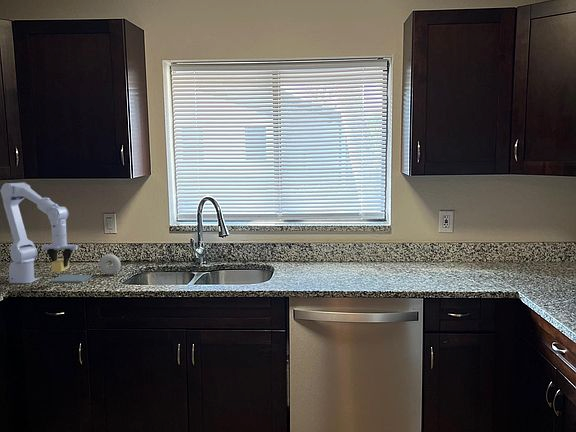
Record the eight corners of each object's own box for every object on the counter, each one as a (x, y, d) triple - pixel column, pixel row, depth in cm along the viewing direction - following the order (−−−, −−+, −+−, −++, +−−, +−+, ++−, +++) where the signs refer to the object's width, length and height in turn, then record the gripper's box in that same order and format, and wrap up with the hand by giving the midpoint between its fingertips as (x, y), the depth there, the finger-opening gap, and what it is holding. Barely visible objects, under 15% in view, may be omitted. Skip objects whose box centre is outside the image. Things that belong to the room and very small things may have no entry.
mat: (50, 282, 226) (50, 280, 226) (62, 276, 238) (62, 274, 238) (82, 282, 226) (82, 281, 226) (92, 276, 238) (92, 275, 238)
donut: (98, 275, 240) (97, 254, 239) (100, 274, 244) (100, 253, 243) (119, 275, 241) (119, 254, 240) (122, 274, 244) (121, 253, 243)
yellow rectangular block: (60, 267, 225) (59, 258, 224) (69, 267, 225) (68, 258, 224) (51, 271, 217) (51, 262, 216) (61, 271, 217) (60, 262, 216)
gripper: (37, 236, 215) (39, 268, 216) (72, 236, 215) (73, 268, 217) (45, 234, 222) (46, 264, 223) (79, 234, 222) (80, 265, 224)
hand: (60, 266), depth 220 cm, fingers closed on yellow rectangular block, 4 cm apart
